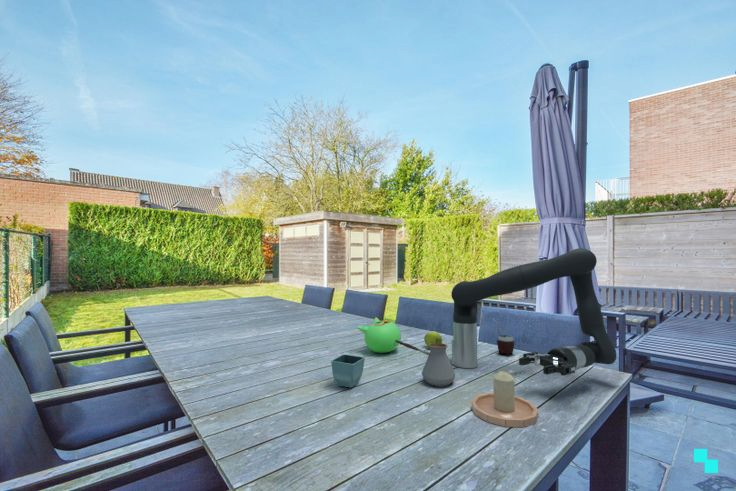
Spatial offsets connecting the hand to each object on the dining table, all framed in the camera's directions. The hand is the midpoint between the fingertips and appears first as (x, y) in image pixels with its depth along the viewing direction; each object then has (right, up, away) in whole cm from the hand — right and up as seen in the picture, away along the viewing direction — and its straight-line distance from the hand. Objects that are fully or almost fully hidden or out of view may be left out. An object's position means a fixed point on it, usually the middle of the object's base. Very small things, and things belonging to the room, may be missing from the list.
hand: (531, 366), depth 103 cm
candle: (-11, -10, -6) cm, 16 cm away
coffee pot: (-30, -11, +16) cm, 36 cm away
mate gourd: (+11, -12, +48) cm, 50 cm away
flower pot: (-56, -12, +14) cm, 59 cm away
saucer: (-11, -11, -6) cm, 17 cm away
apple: (-19, -12, +58) cm, 62 cm away
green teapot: (-43, -12, +53) cm, 70 cm away
